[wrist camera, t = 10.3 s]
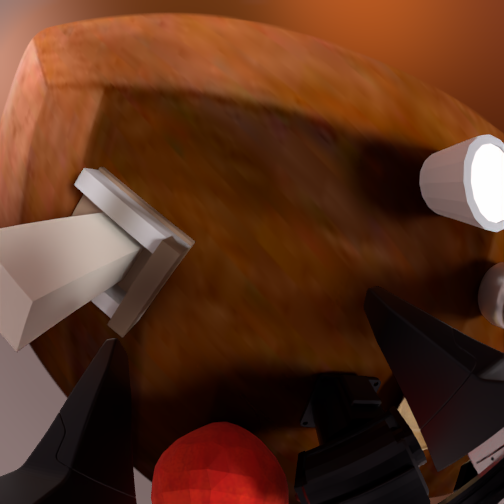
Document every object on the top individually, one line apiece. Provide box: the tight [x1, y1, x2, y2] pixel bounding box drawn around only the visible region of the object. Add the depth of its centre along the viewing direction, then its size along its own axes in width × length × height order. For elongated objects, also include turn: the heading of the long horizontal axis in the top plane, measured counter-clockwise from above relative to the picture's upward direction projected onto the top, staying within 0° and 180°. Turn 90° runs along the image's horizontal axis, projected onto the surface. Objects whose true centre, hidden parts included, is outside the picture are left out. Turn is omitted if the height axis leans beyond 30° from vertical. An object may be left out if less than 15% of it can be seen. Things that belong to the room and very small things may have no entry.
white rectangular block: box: [0, 212, 144, 352], centre depth 15 cm, size 4×3×13 cm
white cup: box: [419, 135, 504, 232], centre depth 18 cm, size 7×7×7 cm
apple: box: [151, 422, 288, 504], centre depth 19 cm, size 12×12×13 cm
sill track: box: [71, 167, 195, 338], centre depth 20 cm, size 10×9×4 cm
